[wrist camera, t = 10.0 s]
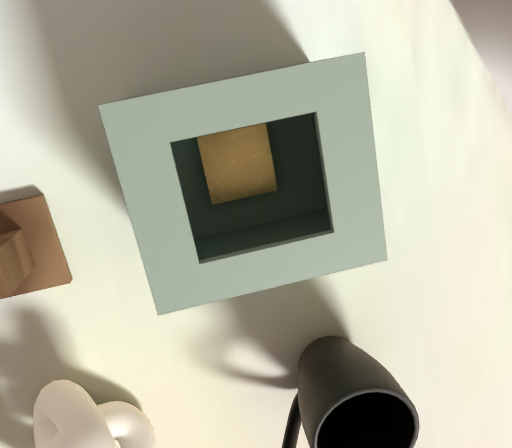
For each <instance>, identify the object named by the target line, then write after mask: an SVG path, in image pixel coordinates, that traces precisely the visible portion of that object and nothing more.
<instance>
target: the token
mask: <svg viewBox="0 0 512 448" xmlns="http://www.w3.org/2000/svg"><path fill="white" fill-rule="evenodd" d="M197 142H198V146H199V150H200V155H201V159H202V164H203V168H204V172H205V177H206V181H207V186H208V190H209V194H210V199H211V203H212V205H214V204H218V203H223V202H227V201H232V200H236V199H241V198H245V197H250V196H254V195H258V194H263V193H267V192H272V191H276V190H278V189H277V183H276V177H275V172H274V166H273V161H272V155H271V150H270V144H269V139H268V133H267V128H266V123H260V124H255V125H250V126H245V127H241V128H236V129H231V130H226V131H221V132H217V133H212V134H207V135H202V136H198V137H197Z"/></svg>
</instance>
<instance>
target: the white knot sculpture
mask: <svg viewBox="0 0 512 448" xmlns="http://www.w3.org/2000/svg"><path fill="white" fill-rule="evenodd" d="M33 431H34V442H35V448H117V445H116V443H115V441H114V439H115V440H117V441H118V442H119V444H120V447H121V448H157V440H156V436H155V433H154V429H153V427H152V425H151V423H150V421H149V419H148V418H147V417H146V415H145V414H144V413H143V412H142V411H141V410H139V409H138V408H136V407H135V406H133V405H131V404H129V403H127V402H122V401H112V402H107V403H102V404H98V405H96V404H95V403H94V401H93V400H92V398H91V397H90V396H89V394H88V393H87V392H86V391H85V390H84V389H83V388H82V387H81V386H79V385H78V384H76V383H74V382H71V381H69V380H65V379H63V380H56V381H52V382H51V383H49V384H48V385H47V386H45V387H44V388H42V389H41V391H40V393H39V395H38V397H37V399H36V401H35V405H34V412H33Z"/></svg>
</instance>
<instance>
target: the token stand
mask: <svg viewBox="0 0 512 448" xmlns="http://www.w3.org/2000/svg"><path fill="white" fill-rule="evenodd" d="M71 281H72V276H71V273H70V270H69V267H68V264H67V261H66V258H65V255H64V252H63V249H62V246H61V244H60V241H59V238H58V235H57V232H56V229H55V226H54V223H53V220H52V217H51V214H50V211H49V208H48V205H47V203H46V200H45V197H44V194H43V195H39V196H34V197H29V198H25V199H20V200H15V201H11V202H6V203H1V204H0V299H3V298H8V297H12V296H16V295H20V294H25V293H29V292H33V291H38V290H42V289H46V288H51V287H55V286H59V285H64V284H68V283H71Z"/></svg>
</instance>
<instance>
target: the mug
mask: <svg viewBox="0 0 512 448" xmlns="http://www.w3.org/2000/svg"><path fill="white" fill-rule="evenodd" d="M298 369H299V375H298V393H297V394H296V396H295V398H294V400H293V403H292V406H291V409H290V413H289V417H288V421H287V426H286V430H285V435H284V440H283V444H282V448H296V444H297V439H298V434H299V430H300V426H301V422H302V425H303V428H304V431H305V434H306V437H307V440H308V443H309V446H310V448H413V447H414V445H415V443H416V440H417V438H418V432H419V418H418V414H417V411H416V409H415V406H414V404H413V403H412V402H411V400H410V399H409V398H408V396H407V395H406V393H405V392H404V391H403V389H402V388H401V387H400V385H399V384H398V383H397V381H396V380H395V379H394V377H393V376H392V375H391V374H390V373H389V372H388V371H387V369H386V368H385V367H384V366H382V365H381V364H380V363H379V362H378V361H377V360H375V359H374V358H373V357H371V356H370V355H369V354H367V353H366V352H365V351H363V350H362V349H360V348H359V347H357V346H355V345H353V344H352V343H350V342H349V341H347V340H346V339H344V338H341V337H337V336H326V337H322V338H319V339H317V340H315V341H313V342H312V343H311V344H309V345H308V346H307V347H306V349H305V350H304V351H303V353H302V355H301V357H300V360H299V367H298Z"/></svg>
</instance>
